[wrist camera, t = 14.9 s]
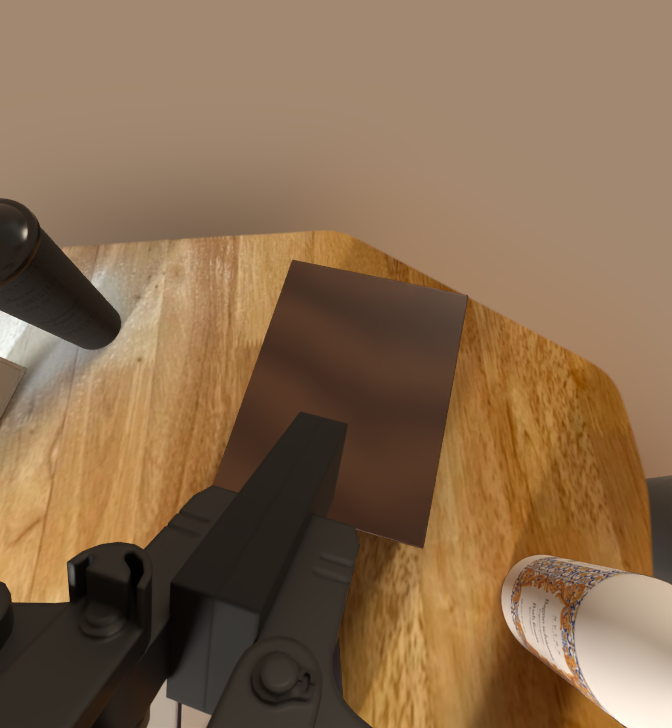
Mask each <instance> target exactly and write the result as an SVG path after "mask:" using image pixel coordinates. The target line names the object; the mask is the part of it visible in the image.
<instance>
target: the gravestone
mask: <svg viewBox="0 0 672 728" xmlns="http://www.w3.org/2000/svg"><path fill="white" fill-rule="evenodd" d="M25 370H26V368H24V367H22V366H20V365H17V364H15V363H13V362H11V361H8V360H6V359H4V358H2V357H0V419H1V417H2V415H3V413H4V411H5V409H6V407H7V405H8V403H9V401H10V399H11V397H12V395H13V393H14V392H15V390H16V388H17V386H18V384H19V382H20V380H21V378H22V376H23V374H24V372H25Z"/></svg>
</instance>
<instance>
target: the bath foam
mask: <svg viewBox="0 0 672 728" xmlns="http://www.w3.org/2000/svg"><path fill="white" fill-rule="evenodd" d="M501 600H502V609H503V613H504V617H505V620H506V622H507V624H508V626H509V628H510V630H511V632H512V633H513V635H514V636H515V638H516V639H517V640H518V641H519V642H520V643H521V644H522V645H523V646H524V647H525V648H526V649H527V650H528V651H529V652H531V653H532V654H533V655H534V656H535V657H537V658H538V659H539V660H540V661H542V662H543V663H544V664H545V665H547V666H548V667H549V668H551V669H552V670H553V671H554V672H556V673H557V674H558V675H559V676H561V677H562V678H563V679H564V680H566V681H567V682H568V683H570V684H571V685H572V686H573V687H575V688H576V689H577V690H578V691H580V692H581V693H582V694H583V695H585V696H586V697H587V698H589V699H590V700H591V701H592V702H594V703H595V704H596V705H597V706H599V707H600V708H601V709H602V710H604V711H605V712H606V713H608V714H609V715H610V716H611V717H613V718H614V719H615V720H616V721H618V722H619V723H620V724H622V725H623V726H625V727H626V728H672V585H671V584H668V583H666V582H664V581H661V580H659V579H656V578H653V577H650V576H647V575H642V574H637V573H632V572H628V571H623V570H618V569H613V568H608V567H604V566H599V565H594V564H589V563H584V562H580V561H575V560H570V559H565V558H560V557H554V556H549V555H534V556H530V557H527V558H524V559H522V560H521V561H519V562H518V563H516V564H515V565H514V566H513V567H512V568H511V570H510V571H509V573H508V574H507V576H506V578H505V581H504V584H503V588H502V596H501Z"/></svg>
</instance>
